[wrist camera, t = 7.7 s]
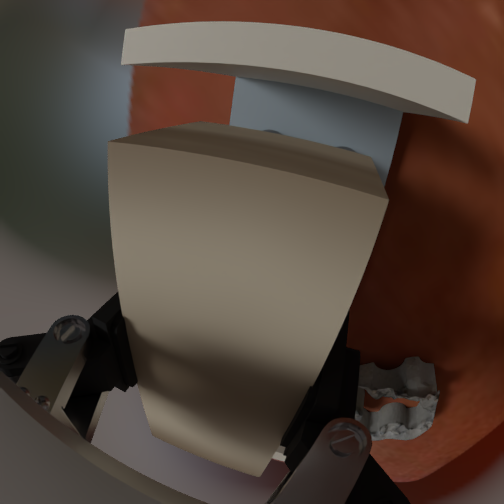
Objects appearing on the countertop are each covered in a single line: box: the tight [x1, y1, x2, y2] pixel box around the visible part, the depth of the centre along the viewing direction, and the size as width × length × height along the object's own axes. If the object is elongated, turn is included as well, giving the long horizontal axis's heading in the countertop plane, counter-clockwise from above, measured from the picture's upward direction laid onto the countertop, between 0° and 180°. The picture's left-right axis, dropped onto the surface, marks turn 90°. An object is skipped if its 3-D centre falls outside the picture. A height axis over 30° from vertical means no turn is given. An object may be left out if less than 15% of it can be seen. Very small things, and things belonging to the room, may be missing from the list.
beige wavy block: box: [108, 121, 389, 477], centre depth 9 cm, size 12×5×4 cm, turn 172°
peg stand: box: [121, 22, 476, 461], centre depth 13 cm, size 17×8×9 cm, turn 172°
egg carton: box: [355, 357, 440, 440], centre depth 19 cm, size 11×8×4 cm
